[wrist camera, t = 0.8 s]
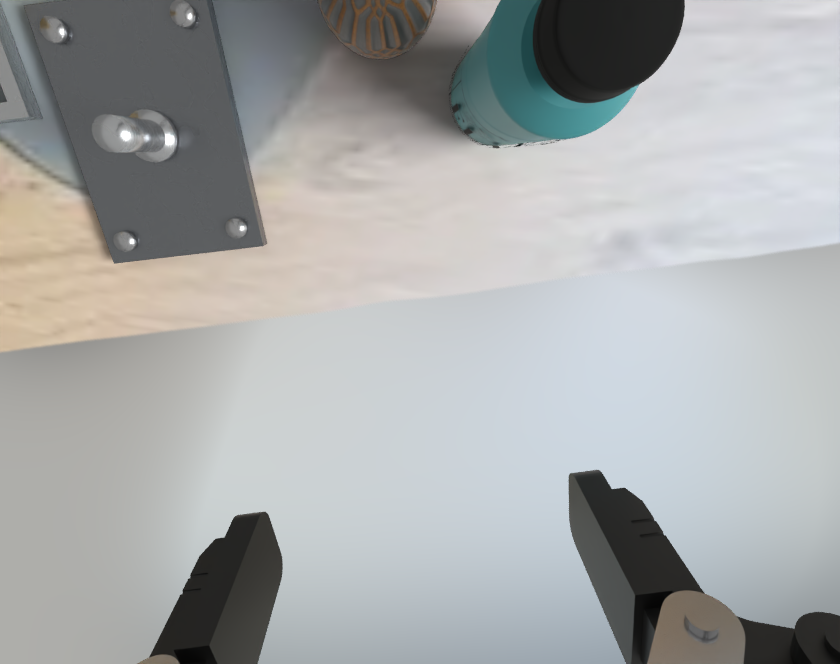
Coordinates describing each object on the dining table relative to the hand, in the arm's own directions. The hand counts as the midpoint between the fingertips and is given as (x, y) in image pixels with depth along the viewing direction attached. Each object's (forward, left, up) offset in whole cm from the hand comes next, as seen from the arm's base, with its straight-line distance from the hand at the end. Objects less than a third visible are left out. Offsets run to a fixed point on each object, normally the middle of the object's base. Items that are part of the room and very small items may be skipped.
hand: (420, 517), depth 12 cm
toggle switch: (-12, -16, -26) cm, 32 cm away
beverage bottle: (-12, +7, -26) cm, 29 cm away
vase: (-18, 0, -26) cm, 31 cm away
